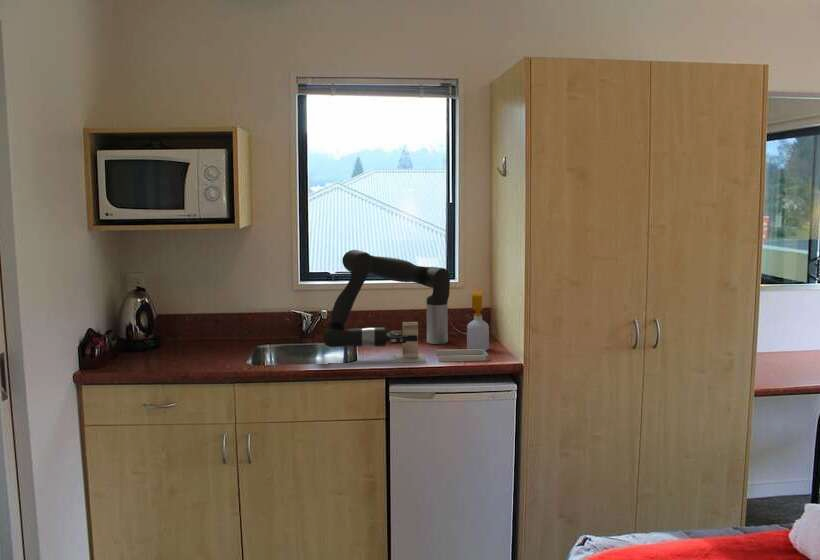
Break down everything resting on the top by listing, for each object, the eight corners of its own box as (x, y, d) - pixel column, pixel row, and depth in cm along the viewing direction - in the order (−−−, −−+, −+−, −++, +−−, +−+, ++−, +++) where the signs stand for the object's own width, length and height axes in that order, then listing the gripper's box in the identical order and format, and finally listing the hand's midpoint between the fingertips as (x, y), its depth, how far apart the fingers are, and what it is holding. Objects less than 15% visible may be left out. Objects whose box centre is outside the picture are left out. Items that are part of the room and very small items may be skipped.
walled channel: (436, 354, 260) (436, 349, 260) (484, 353, 261) (484, 348, 261) (438, 361, 249) (438, 356, 249) (488, 360, 250) (488, 355, 249)
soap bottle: (490, 347, 272) (490, 290, 269) (486, 352, 264) (487, 293, 261) (469, 346, 275) (469, 289, 272) (465, 351, 266) (465, 292, 263)
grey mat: (394, 355, 260) (394, 354, 260) (424, 354, 261) (424, 353, 260) (395, 362, 248) (394, 361, 248) (425, 361, 249) (425, 361, 249)
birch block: (402, 354, 257) (402, 322, 255) (417, 353, 257) (417, 321, 255) (402, 357, 252) (402, 324, 250) (418, 356, 252) (418, 324, 250)
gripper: (373, 331, 245) (417, 330, 246) (374, 324, 260) (416, 323, 260) (373, 350, 246) (417, 350, 247) (374, 342, 260) (416, 342, 261)
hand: (416, 336), depth 253 cm, fingers closed on birch block, 5 cm apart
